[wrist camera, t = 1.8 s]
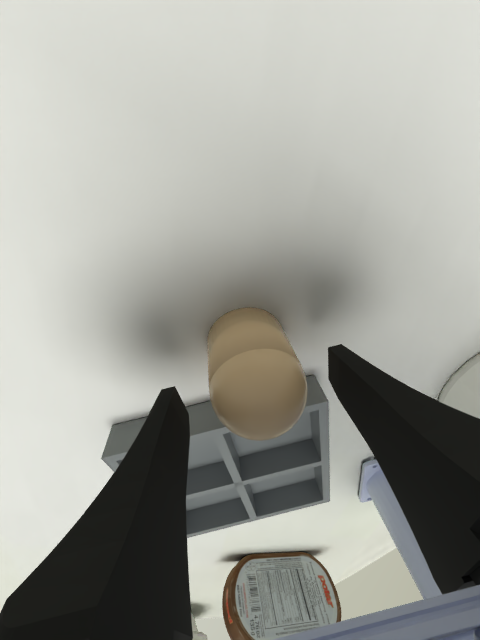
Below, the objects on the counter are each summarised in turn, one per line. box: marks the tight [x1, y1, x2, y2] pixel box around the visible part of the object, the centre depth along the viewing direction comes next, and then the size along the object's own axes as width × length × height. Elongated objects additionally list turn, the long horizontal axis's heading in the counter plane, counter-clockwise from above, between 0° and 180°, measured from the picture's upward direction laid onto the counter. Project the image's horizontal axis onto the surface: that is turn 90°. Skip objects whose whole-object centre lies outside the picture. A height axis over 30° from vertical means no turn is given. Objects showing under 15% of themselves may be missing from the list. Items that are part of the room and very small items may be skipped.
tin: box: [222, 552, 341, 640], centre depth 31 cm, size 15×3×8 cm, turn 70°
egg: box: [207, 307, 308, 441], centre depth 12 cm, size 4×4×6 cm
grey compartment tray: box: [101, 375, 330, 538], centre depth 19 cm, size 14×14×2 cm
